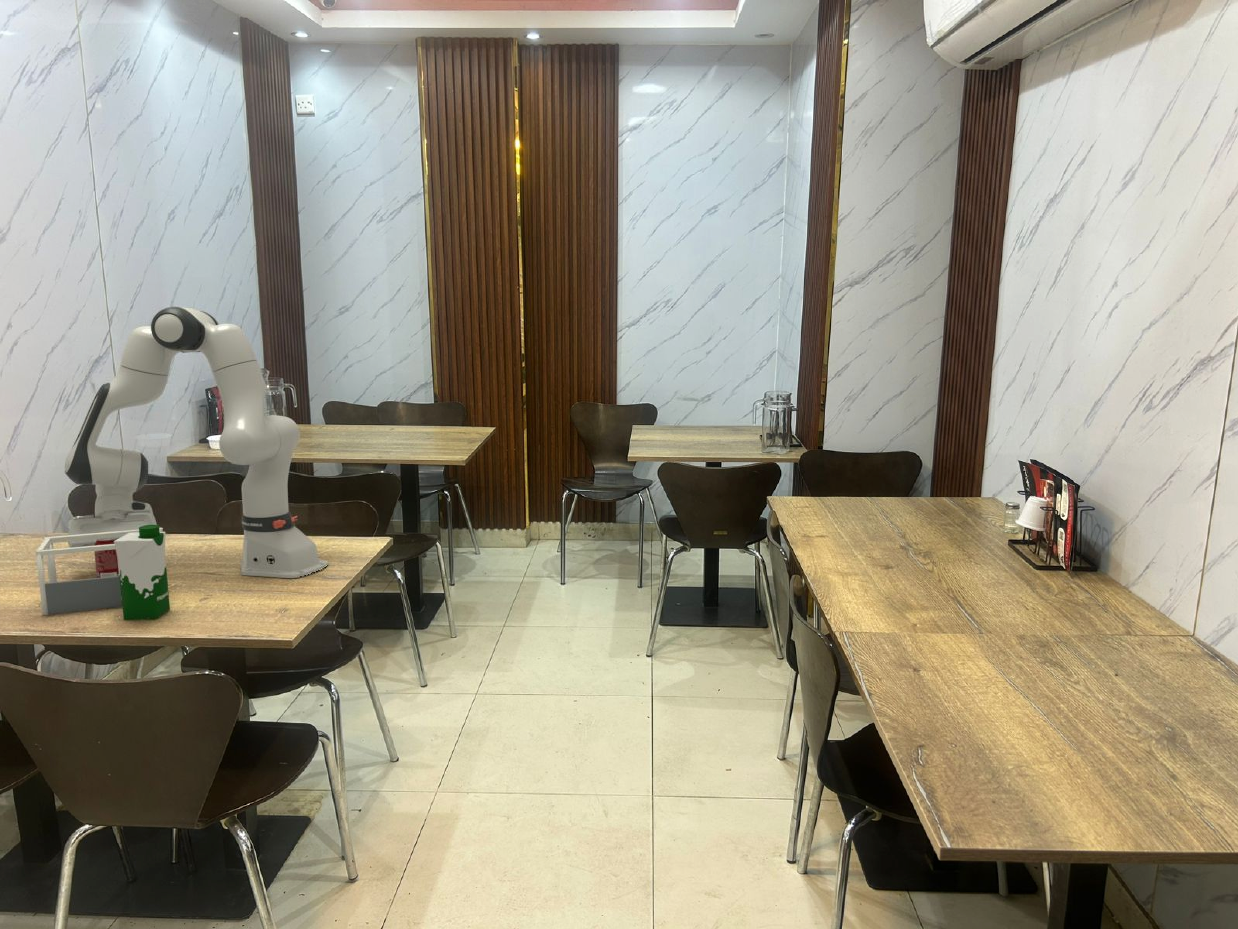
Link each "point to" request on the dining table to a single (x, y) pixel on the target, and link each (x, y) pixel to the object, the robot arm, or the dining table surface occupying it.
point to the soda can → (106, 559)
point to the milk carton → (143, 573)
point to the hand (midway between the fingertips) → (114, 560)
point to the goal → (77, 591)
